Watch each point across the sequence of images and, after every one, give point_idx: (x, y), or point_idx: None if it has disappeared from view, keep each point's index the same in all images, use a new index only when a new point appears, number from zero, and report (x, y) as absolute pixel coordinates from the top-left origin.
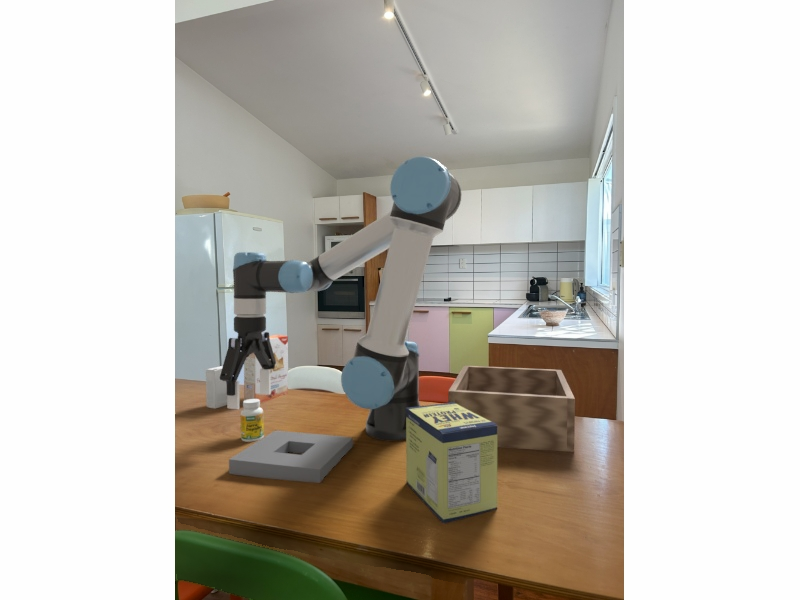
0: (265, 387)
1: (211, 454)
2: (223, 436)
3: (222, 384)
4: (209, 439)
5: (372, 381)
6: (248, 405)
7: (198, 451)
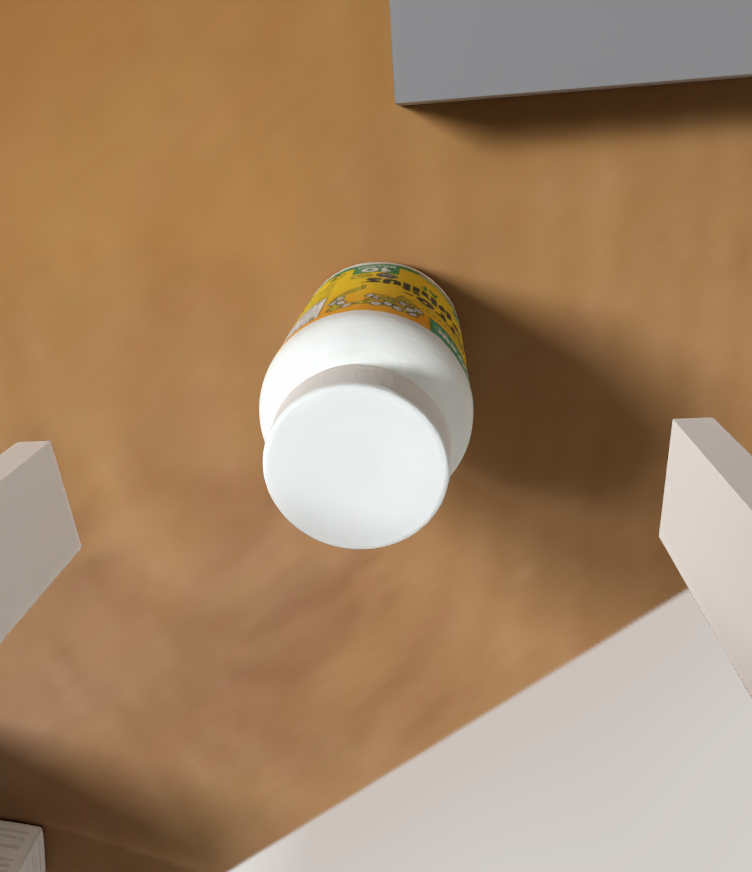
0: (16, 527)
1: (710, 414)
2: None
3: None
4: (475, 578)
5: None
6: (447, 438)
7: None
